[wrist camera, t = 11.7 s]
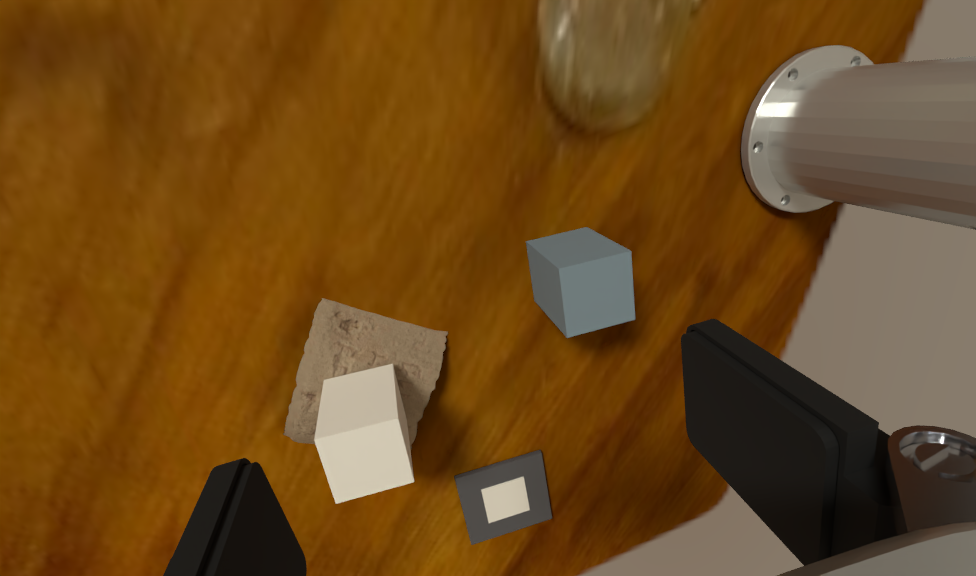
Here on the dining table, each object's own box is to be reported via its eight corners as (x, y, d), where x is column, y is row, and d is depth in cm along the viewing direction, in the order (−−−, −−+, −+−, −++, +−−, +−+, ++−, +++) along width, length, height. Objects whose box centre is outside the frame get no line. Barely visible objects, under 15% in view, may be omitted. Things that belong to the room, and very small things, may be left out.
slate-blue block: (586, 227, 39) (631, 250, 32) (592, 285, 40) (635, 319, 34) (525, 241, 38) (558, 268, 31) (534, 300, 40) (567, 337, 33)
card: (540, 449, 45) (541, 453, 44) (550, 515, 48) (552, 519, 47) (454, 475, 44) (455, 479, 43) (470, 541, 47) (471, 545, 46)
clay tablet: (400, 463, 43) (402, 484, 40) (277, 446, 40) (271, 469, 37) (452, 312, 39) (458, 326, 37) (321, 280, 36) (318, 293, 34)
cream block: (392, 363, 37) (398, 418, 30) (406, 419, 38) (414, 481, 32) (323, 379, 36) (314, 439, 29) (341, 435, 38) (335, 503, 31)
